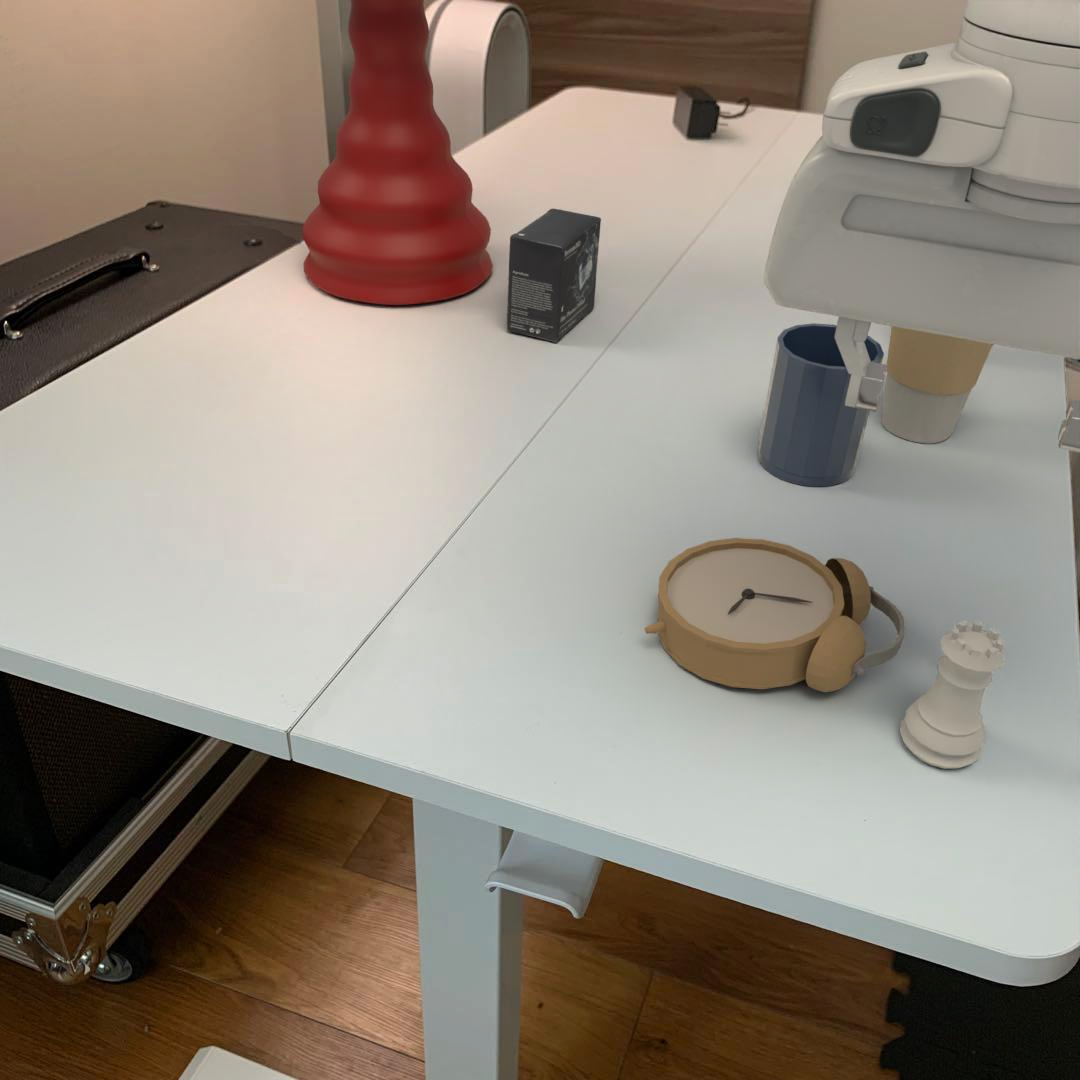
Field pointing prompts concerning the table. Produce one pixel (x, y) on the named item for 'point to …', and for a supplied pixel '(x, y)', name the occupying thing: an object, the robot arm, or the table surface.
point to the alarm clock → (768, 616)
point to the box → (552, 274)
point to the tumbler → (811, 409)
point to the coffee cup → (929, 383)
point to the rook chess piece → (954, 699)
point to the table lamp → (394, 178)
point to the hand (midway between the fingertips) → (965, 424)
